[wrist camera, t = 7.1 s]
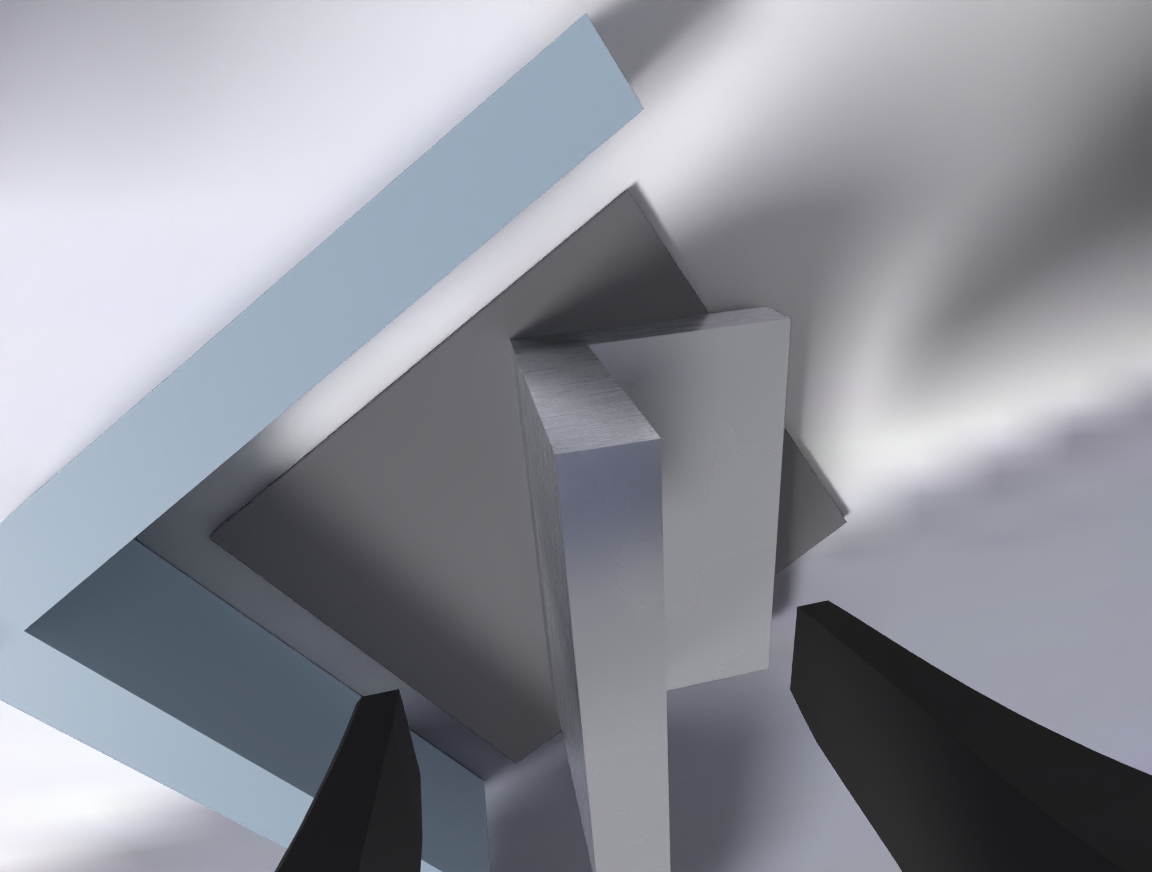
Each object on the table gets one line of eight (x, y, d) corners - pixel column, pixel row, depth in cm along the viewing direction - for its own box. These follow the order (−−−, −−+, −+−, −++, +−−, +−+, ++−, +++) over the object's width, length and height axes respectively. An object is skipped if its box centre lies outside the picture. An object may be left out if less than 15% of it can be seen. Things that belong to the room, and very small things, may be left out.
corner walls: (0, 523, 14) (-128, 633, 11) (547, 48, 12) (585, 13, 9) (446, 808, 20) (448, 932, 17) (850, 513, 18) (935, 588, 15)
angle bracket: (509, 339, 14) (555, 455, 9) (765, 306, 15) (949, 393, 10) (550, 680, 18) (598, 901, 13) (749, 639, 19) (871, 830, 14)
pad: (211, 533, 15) (208, 538, 15) (625, 190, 14) (628, 190, 13) (515, 757, 20) (516, 763, 19) (843, 518, 18) (846, 522, 18)
